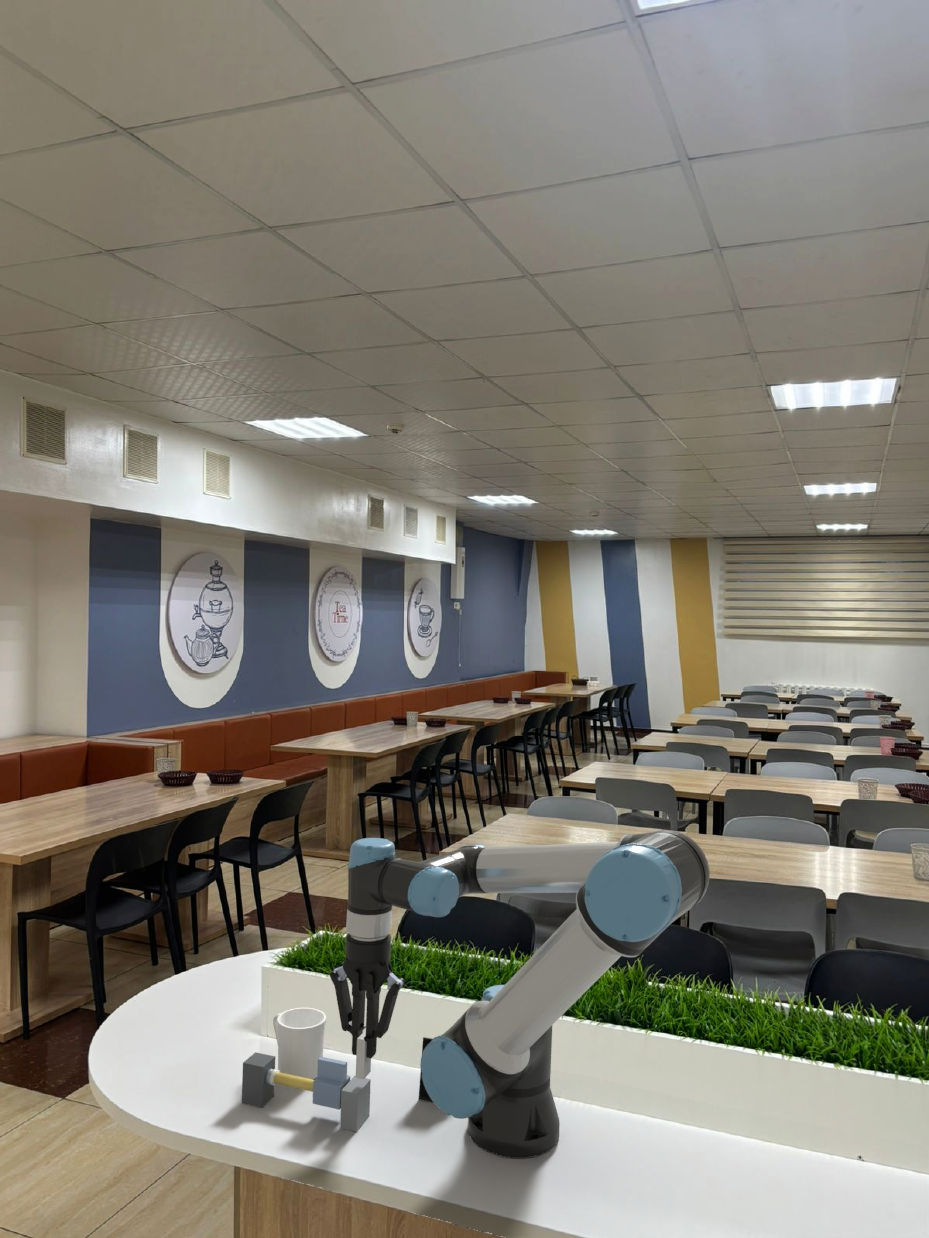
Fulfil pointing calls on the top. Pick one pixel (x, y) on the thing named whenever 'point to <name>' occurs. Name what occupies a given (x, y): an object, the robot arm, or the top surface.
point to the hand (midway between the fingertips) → (363, 1074)
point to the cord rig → (265, 1076)
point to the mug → (300, 1041)
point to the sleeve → (330, 1082)
